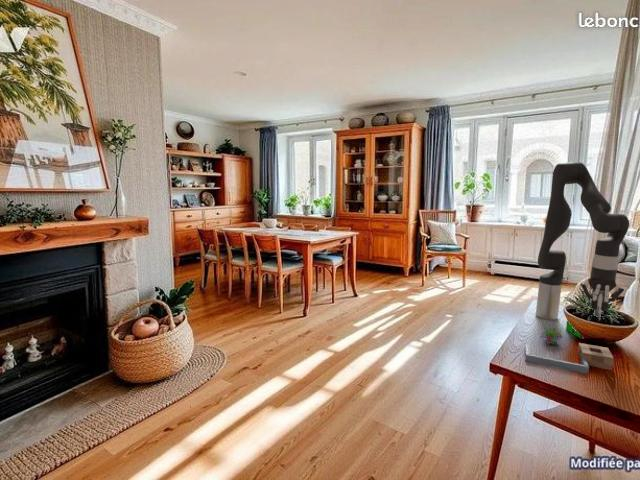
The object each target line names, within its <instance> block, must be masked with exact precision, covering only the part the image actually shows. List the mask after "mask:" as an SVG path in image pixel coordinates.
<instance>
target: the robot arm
mask: <svg viewBox="0 0 640 480" xmlns="http://www.w3.org/2000/svg"><path fill="white" fill-rule="evenodd" d="M552 171H553V172H552V177H551V189H550V191H551V192H550V198H549V204H548V210H547V215H546V219H545V226H544V231H543V237H542V241H541V246H540V249H539V252H538V256H537V265H538V268H540V269H545V270H552V271H551V272H548V273H545V274H541V275H540V277H539V281H538V290H537V291H538V292H537V297H536V310H535V316H536V317H538V318H541V319H543V320H548V321H549V320H550V321H555V320H558V319H559V318H558V317H559V311H560V302H561V293H562V284H563V280H564V273H565V268H566V262H567V254H566V253H565V251H564V250H560V249H559V250H557V249H556V250H555V249H551V248H552V246H553V244H554V243H555V242H556V241H557V240H558V238H560V237H561V236H563V234H565V233H566V231H568V229H569V227H570V226H571V225H570V224H571V219H572V215H573V214H572V212H573V211H572V209H571V207H570V205H569V203H568V201H567V200H566V198H565V197H566V196H565V187H566V185H573V184H577V185H578V186H579V187H580V188H581V193H580V202H581V204H582V207H584V209H585V210H586V211H587V212H588V214H589V217H590V220H591V224H592V228H593V229H594V230H595V231H597V232H598V233H602V234H607V236H606V237H602V238H599V239H598V240H596V243H595V248H594V255H593V258H592V263H591V264H592V265H591V271H590V278H589V279H588V281H585V282H580V286H581V288H582V290H583V292H584V294H585V296H586V298H587V299H589V300H590V307H591V308H592V310H594V311H595V310H596V304H597V301H596V299H597V296H598V293H599V290H600V291H605V293H604V300H603V306H602V312H605V311H607V309H608V305H609V302H615V301H616V299H618V298H619V296H620V295H622V293H623V292H624V291H625V289H624V287H622V286H619V285H618V284H617V282H616V280H617V272H618V267H619V253H620V248H621V244H622V242H623V241H624V238H625V237H626V235H627V233H628V230H629V228H630V220H629V217H627V216H626V215H625V214H623V213H610V212H611V210H612V206H611V204H610V203H609V202H608V200H607V199H606V198H605V197H604V195H602V194H601V192H600V191H599V189H598V187H597V185H596V184H595V182H594V180H593V177H592V175H591V173H590V172H589V170H588V167H587V166H586V165H585V164H584V163H583V162H580V161H569V162H560V163H557V164H556V165H555V166H554V168H553V170H552ZM589 286H590V287H591V289H592V294H590V292H589V290H588V289H589ZM612 290H614V291H613V293H611V295H610V292H611V291H612Z"/></svg>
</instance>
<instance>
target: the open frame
mask: <svg viewBox="0 0 640 480" xmlns="http://www.w3.org/2000/svg"><path fill="white" fill-rule="evenodd" d="M529 348H530V347H529V343H524V359H525V360H524V361H525V362H529V363H533V364H539V365H543V366H548V367H553V368H558V369H561V370H568V371H572V372H578V373H581V374H586V375H588V374H589V369H590V366H588V364H587V361H586V359H585V358H582V359H581V354H580V359H579V362H580V364H579V363H576V362H569V361H566V360H560V359H554V358H550V357H544V356H539V355H534V354H530V350H529ZM581 361H582V362H581Z"/></svg>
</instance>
